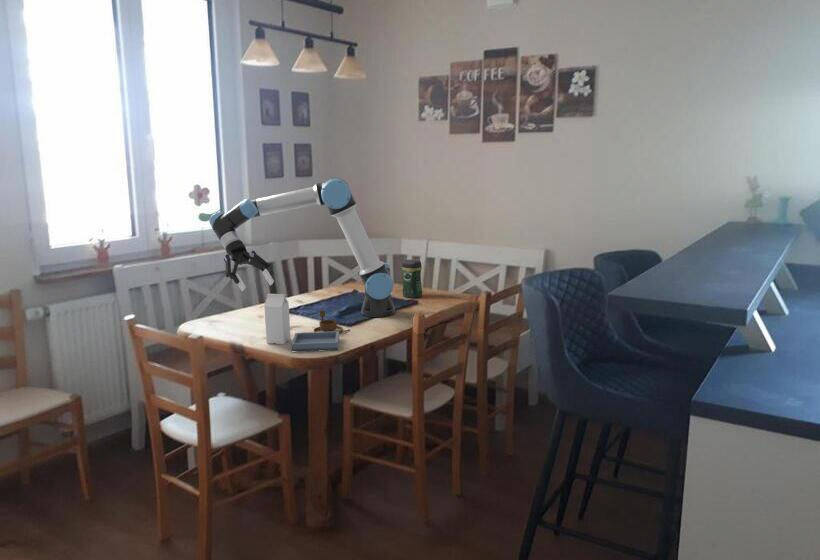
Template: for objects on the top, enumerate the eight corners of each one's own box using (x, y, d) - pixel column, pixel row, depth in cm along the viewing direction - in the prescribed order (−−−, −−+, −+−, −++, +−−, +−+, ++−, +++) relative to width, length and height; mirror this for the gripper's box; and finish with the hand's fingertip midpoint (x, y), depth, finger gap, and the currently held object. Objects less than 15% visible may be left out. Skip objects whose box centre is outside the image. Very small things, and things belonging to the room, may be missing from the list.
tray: (339, 338, 255) (338, 331, 255) (337, 350, 241) (337, 342, 240) (295, 340, 254) (295, 332, 253) (291, 352, 239) (291, 344, 239)
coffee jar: (424, 296, 325) (424, 259, 321) (415, 299, 319) (414, 262, 315) (409, 293, 331) (409, 257, 327) (400, 296, 324) (399, 260, 321)
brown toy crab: (302, 336, 261) (301, 322, 260) (319, 323, 280) (318, 310, 279) (343, 338, 257) (343, 324, 256) (358, 325, 277) (357, 311, 275)
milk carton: (284, 344, 249) (281, 296, 245) (266, 343, 250) (263, 295, 246) (290, 339, 256) (288, 292, 252) (273, 338, 257) (270, 291, 253)
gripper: (255, 247, 274) (279, 286, 267) (203, 255, 255) (227, 297, 249) (262, 235, 269) (287, 275, 263) (209, 242, 251) (234, 285, 244)
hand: (258, 286), depth 256 cm, fingers open, 13 cm apart
